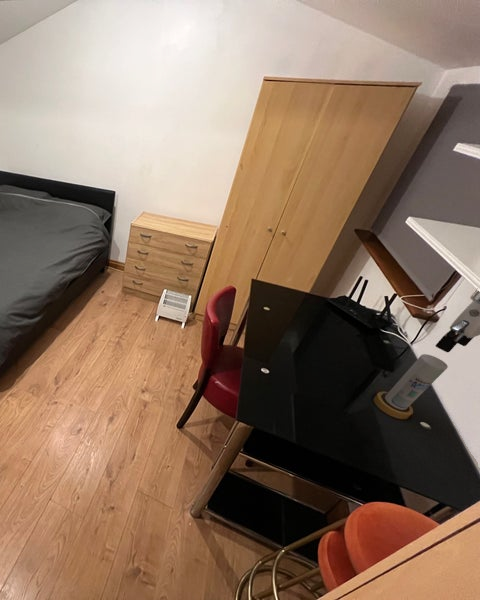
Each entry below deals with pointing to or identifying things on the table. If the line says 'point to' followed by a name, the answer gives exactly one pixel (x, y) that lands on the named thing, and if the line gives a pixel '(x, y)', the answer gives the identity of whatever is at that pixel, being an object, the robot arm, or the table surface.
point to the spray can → (415, 381)
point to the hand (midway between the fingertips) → (450, 346)
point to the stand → (391, 407)
